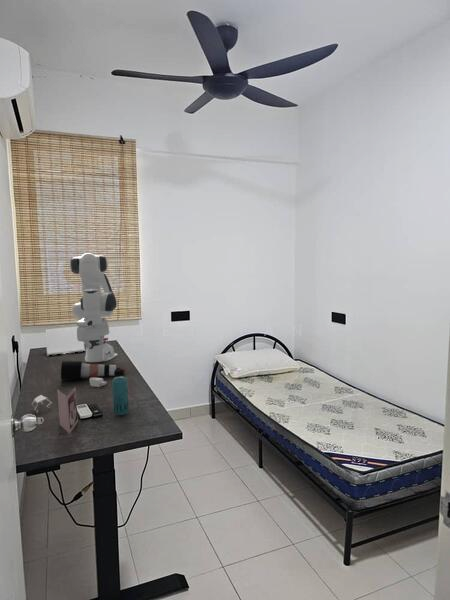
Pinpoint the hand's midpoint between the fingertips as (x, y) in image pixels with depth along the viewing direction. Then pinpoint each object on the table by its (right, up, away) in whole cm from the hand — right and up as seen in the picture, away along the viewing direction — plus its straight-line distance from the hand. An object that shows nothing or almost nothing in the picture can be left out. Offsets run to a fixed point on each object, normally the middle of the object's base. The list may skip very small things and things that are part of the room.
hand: (94, 346), depth 210 cm
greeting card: (+5, -27, -49) cm, 57 cm away
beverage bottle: (+24, -25, -38) cm, 52 cm away
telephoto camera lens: (-6, -20, +17) cm, 27 cm away
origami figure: (-15, -25, -27) cm, 40 cm away
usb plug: (+1, -21, +2) cm, 21 cm away
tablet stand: (-47, -14, +80) cm, 94 cm away
